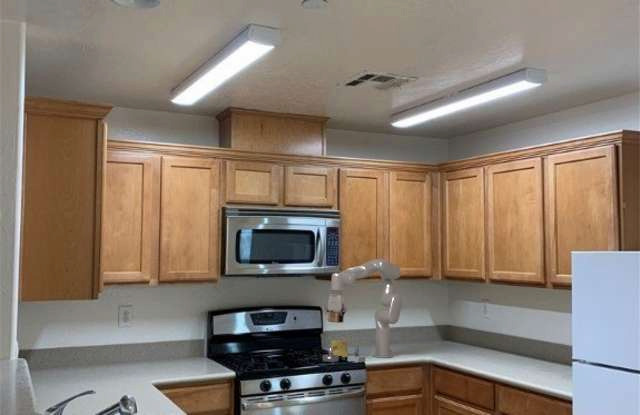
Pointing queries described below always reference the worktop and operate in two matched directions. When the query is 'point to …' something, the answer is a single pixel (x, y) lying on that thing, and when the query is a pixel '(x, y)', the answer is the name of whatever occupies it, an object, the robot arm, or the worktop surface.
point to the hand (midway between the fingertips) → (335, 321)
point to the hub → (330, 356)
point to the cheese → (340, 348)
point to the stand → (356, 356)
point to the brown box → (334, 317)
